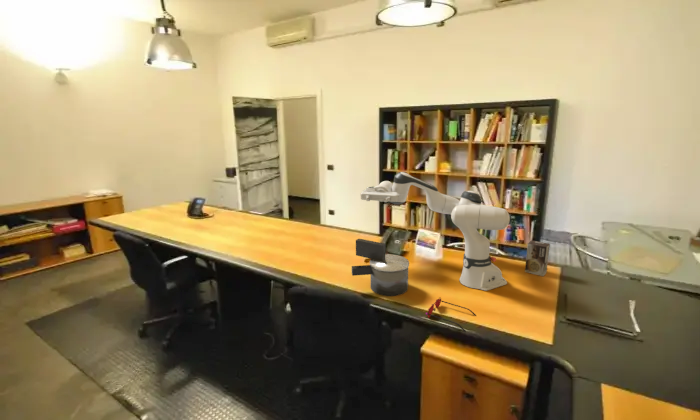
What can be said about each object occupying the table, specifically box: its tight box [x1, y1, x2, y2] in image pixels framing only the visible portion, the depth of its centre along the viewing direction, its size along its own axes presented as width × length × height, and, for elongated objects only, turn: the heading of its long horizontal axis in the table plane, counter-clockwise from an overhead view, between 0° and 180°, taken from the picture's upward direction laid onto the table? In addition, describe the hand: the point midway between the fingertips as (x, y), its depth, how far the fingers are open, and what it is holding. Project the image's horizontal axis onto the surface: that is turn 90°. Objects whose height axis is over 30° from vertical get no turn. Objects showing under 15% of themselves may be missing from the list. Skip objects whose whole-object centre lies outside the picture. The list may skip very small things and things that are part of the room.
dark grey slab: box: [355, 238, 410, 272], centre depth 166 cm, size 27×19×9 cm
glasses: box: [425, 298, 477, 333], centre depth 141 cm, size 14×16×5 cm
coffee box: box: [524, 239, 551, 277], centre depth 178 cm, size 9×6×16 cm
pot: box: [351, 264, 409, 297], centre depth 165 cm, size 27×18×12 cm, turn 96°
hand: (376, 200), depth 181 cm, fingers open, 8 cm apart
